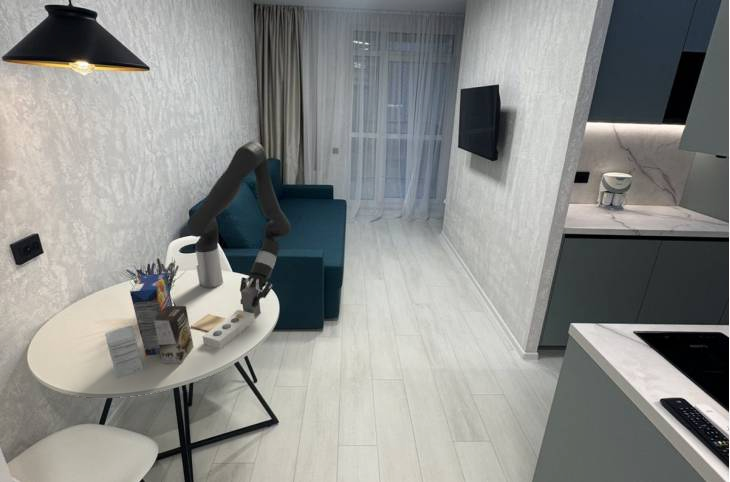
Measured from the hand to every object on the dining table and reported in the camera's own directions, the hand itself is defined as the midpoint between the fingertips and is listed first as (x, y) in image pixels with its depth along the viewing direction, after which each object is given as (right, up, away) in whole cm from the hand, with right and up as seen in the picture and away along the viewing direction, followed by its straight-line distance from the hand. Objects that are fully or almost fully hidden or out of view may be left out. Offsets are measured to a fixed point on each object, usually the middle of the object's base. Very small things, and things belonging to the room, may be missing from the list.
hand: (247, 305), depth 147 cm
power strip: (-4, -8, -7) cm, 12 cm away
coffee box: (-17, -13, -20) cm, 29 cm away
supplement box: (-30, -16, -26) cm, 42 cm away
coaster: (-14, -6, -2) cm, 16 cm away
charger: (+1, -4, +3) cm, 6 cm away
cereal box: (-25, -11, -14) cm, 31 cm away
